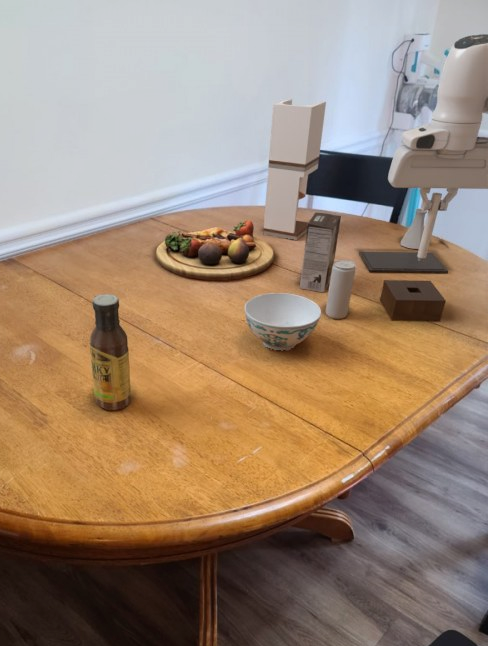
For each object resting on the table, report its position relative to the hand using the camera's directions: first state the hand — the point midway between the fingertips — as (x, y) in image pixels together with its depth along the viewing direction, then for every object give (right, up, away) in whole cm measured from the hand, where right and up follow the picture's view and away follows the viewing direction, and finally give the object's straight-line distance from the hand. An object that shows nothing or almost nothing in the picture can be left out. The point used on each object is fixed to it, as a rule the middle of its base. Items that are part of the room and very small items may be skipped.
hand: (433, 209), depth 115 cm
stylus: (0, -9, +6) cm, 11 cm away
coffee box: (-18, -10, +25) cm, 33 cm away
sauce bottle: (-63, -39, -16) cm, 76 cm away
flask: (+14, +5, +47) cm, 49 cm away
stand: (0, -19, +13) cm, 23 cm away
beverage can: (-17, -20, +11) cm, 28 cm away
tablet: (+7, -2, +35) cm, 36 cm away
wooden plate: (-43, 0, +38) cm, 58 cm away
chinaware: (-31, -27, +1) cm, 42 cm away
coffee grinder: (-20, +12, +56) cm, 61 cm away
